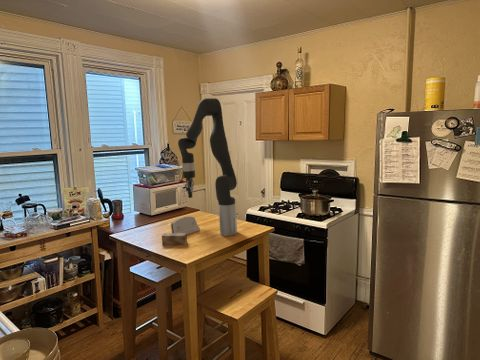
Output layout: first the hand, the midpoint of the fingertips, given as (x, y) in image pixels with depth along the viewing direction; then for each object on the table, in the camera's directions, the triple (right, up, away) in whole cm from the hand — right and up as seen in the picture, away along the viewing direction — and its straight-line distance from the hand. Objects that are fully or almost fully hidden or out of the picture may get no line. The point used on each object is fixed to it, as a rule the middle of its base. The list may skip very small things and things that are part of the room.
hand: (190, 197), depth 201 cm
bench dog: (-3, -22, -33) cm, 40 cm away
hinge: (-1, -20, -14) cm, 24 cm away
